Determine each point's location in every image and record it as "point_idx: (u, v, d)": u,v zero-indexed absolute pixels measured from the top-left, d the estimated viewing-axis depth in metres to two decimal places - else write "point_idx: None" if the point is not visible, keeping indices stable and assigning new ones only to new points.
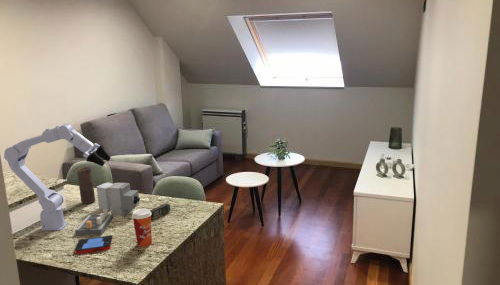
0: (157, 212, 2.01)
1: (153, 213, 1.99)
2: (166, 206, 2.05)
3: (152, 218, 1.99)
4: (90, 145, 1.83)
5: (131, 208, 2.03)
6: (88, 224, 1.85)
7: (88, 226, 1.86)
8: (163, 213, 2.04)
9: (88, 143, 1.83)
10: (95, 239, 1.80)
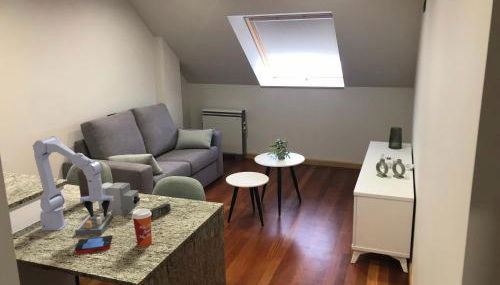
0: (156, 212, 2.01)
1: (152, 213, 1.99)
2: (166, 206, 2.06)
3: (151, 218, 1.99)
4: (91, 197, 1.81)
5: (131, 208, 2.03)
6: (88, 224, 1.85)
7: (88, 226, 1.86)
8: (163, 213, 2.05)
9: (91, 195, 1.80)
10: (95, 239, 1.80)
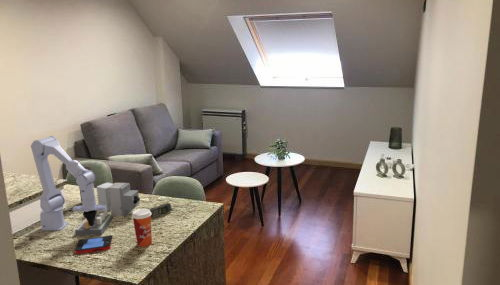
0: (156, 212, 2.02)
1: (152, 212, 2.00)
2: (166, 206, 2.06)
3: (151, 217, 2.00)
4: (84, 207, 1.82)
5: (131, 208, 2.03)
6: (86, 224, 1.85)
7: (86, 226, 1.86)
8: (163, 213, 2.05)
9: (84, 204, 1.81)
10: (95, 239, 1.80)
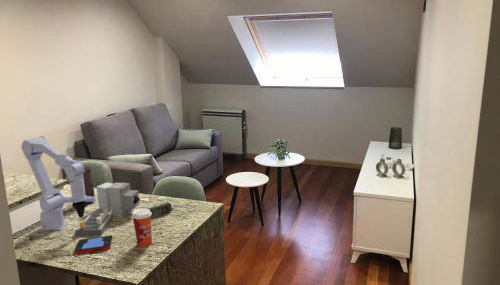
0: (156, 211, 2.03)
1: (151, 211, 2.01)
2: (167, 205, 2.06)
3: None
4: (73, 198, 1.81)
5: (131, 208, 2.03)
6: (81, 224, 1.85)
7: (81, 226, 1.86)
8: (163, 212, 2.05)
9: (73, 195, 1.80)
10: (95, 239, 1.80)
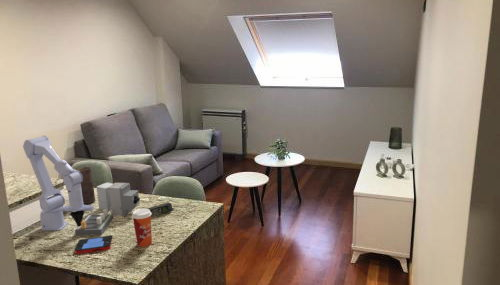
0: (155, 211, 2.03)
1: (151, 211, 2.02)
2: (167, 205, 2.06)
3: None
4: (71, 207, 1.82)
5: (131, 208, 2.03)
6: (83, 224, 1.85)
7: (83, 226, 1.86)
8: (163, 212, 2.06)
9: (71, 205, 1.81)
10: (95, 239, 1.80)
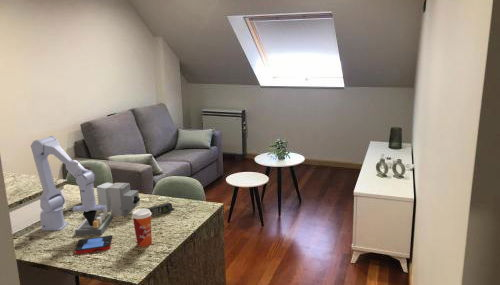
0: (156, 210, 2.04)
1: (151, 210, 2.02)
2: (167, 205, 2.06)
3: None
4: (84, 207, 1.82)
5: (131, 208, 2.03)
6: (95, 224, 1.85)
7: (95, 226, 1.86)
8: (163, 212, 2.06)
9: (84, 204, 1.81)
10: (95, 239, 1.80)
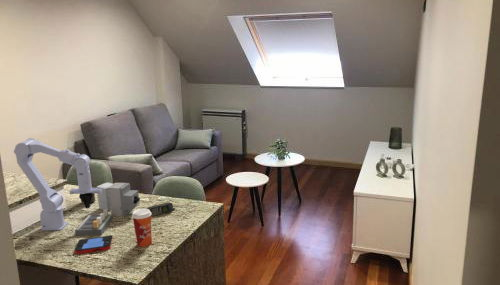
0: (156, 210, 2.04)
1: (151, 210, 2.03)
2: (167, 205, 2.07)
3: None
4: (80, 189, 1.88)
5: (131, 208, 2.03)
6: (95, 224, 1.85)
7: (95, 226, 1.86)
8: (163, 211, 2.06)
9: (80, 187, 1.87)
10: (95, 239, 1.80)
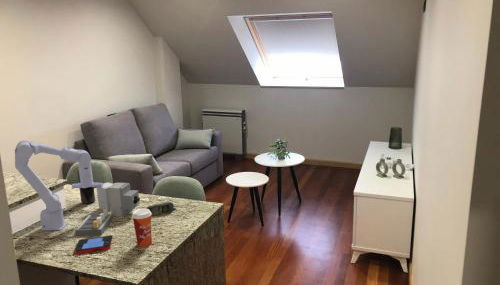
0: (156, 209, 2.05)
1: (151, 209, 2.04)
2: (168, 205, 2.07)
3: None
4: (82, 184, 1.95)
5: (131, 208, 2.03)
6: (95, 224, 1.85)
7: (95, 226, 1.86)
8: (164, 211, 2.07)
9: (82, 181, 1.95)
10: (95, 239, 1.80)
